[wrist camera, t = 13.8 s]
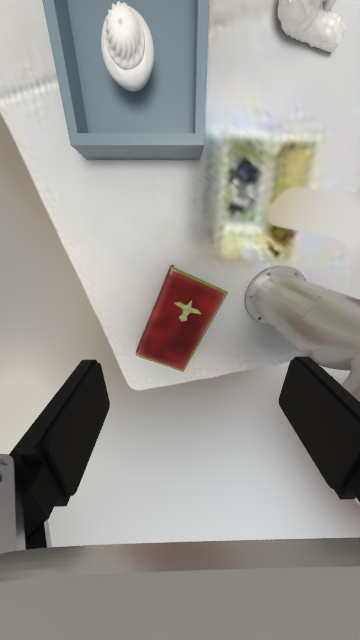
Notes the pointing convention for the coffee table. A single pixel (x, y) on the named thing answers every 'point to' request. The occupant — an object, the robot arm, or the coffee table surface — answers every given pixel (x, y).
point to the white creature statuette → (312, 22)
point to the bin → (128, 106)
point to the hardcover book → (179, 319)
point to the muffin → (127, 47)
